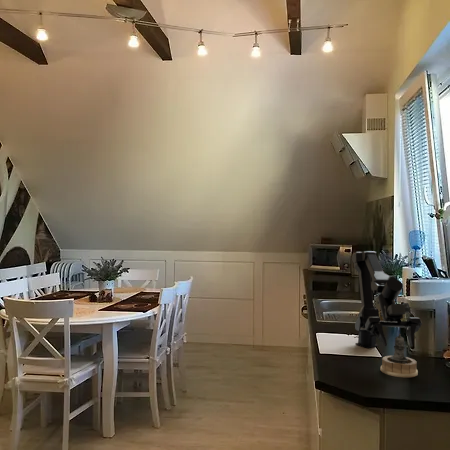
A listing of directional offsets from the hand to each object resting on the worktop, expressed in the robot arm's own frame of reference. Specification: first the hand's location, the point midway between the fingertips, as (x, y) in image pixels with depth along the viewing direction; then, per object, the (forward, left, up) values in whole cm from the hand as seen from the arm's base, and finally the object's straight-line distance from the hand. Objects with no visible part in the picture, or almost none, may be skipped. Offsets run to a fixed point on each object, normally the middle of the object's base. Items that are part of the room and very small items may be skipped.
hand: (399, 345), depth 172 cm
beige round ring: (0, 0, -9) cm, 9 cm away
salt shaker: (0, 0, -8) cm, 8 cm away
